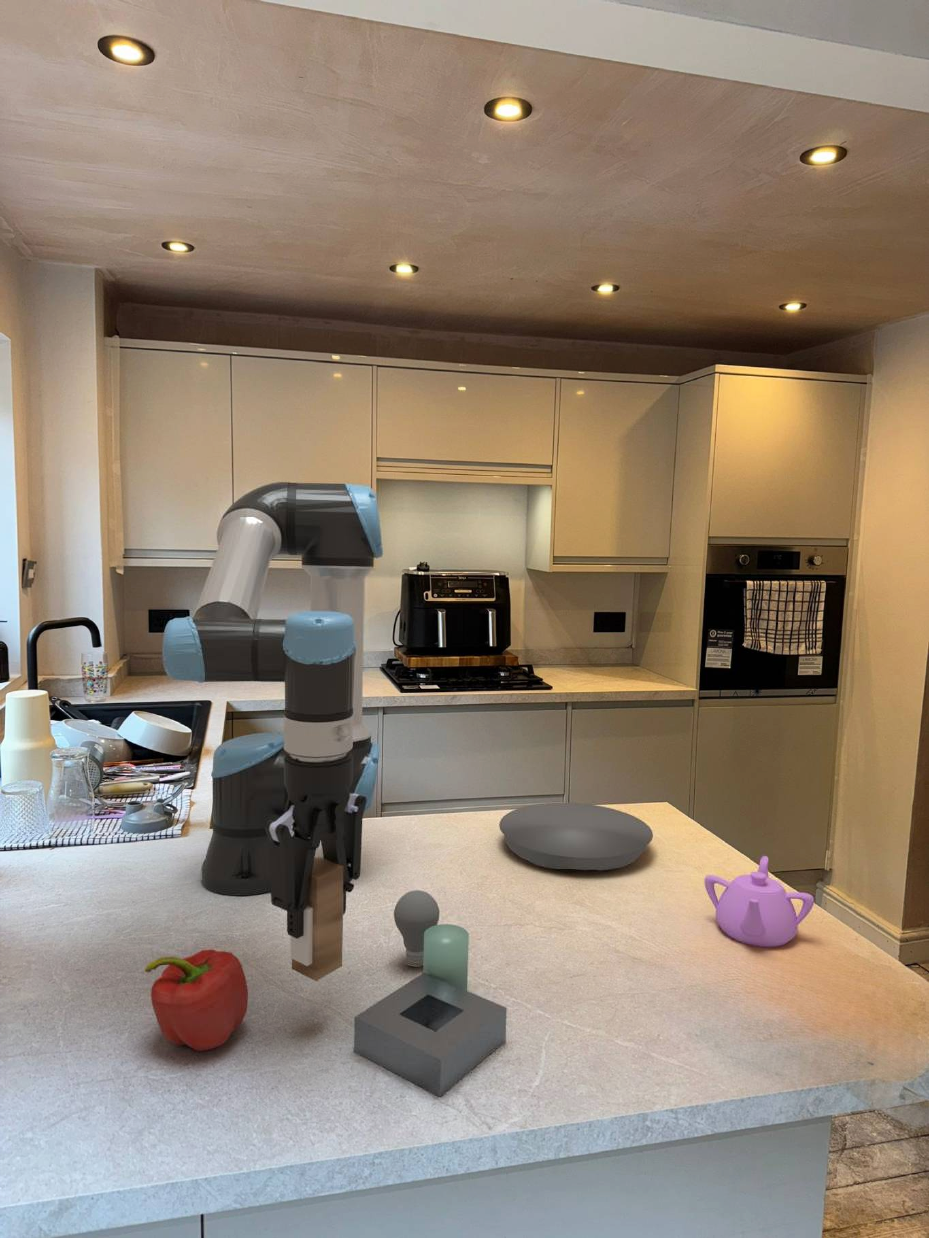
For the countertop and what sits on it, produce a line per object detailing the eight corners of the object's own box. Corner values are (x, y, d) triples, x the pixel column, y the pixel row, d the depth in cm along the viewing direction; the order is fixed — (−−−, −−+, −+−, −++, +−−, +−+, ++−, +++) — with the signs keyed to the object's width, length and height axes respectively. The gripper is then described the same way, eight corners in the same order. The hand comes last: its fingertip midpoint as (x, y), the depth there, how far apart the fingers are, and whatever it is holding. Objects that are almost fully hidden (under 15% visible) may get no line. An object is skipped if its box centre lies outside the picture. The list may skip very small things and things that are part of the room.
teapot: (762, 908, 130) (765, 853, 129) (822, 951, 116) (827, 890, 115) (695, 915, 126) (698, 859, 125) (749, 960, 113) (753, 898, 112)
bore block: (354, 1051, 91) (354, 1016, 90) (423, 1003, 100) (423, 972, 100) (440, 1097, 84) (441, 1059, 83) (505, 1041, 93) (506, 1007, 93)
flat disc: (505, 819, 168) (506, 798, 168) (645, 829, 164) (646, 807, 164) (490, 876, 141) (491, 851, 140) (658, 889, 137) (659, 863, 136)
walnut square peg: (291, 968, 94) (292, 867, 92) (317, 954, 97) (318, 856, 95) (316, 981, 91) (317, 877, 90) (342, 966, 94) (343, 866, 93)
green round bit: (413, 998, 101) (414, 936, 101) (441, 979, 106) (442, 920, 105) (448, 1014, 98) (450, 950, 97) (475, 994, 103) (477, 933, 102)
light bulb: (444, 958, 111) (446, 887, 110) (428, 980, 106) (430, 905, 105) (403, 950, 113) (405, 879, 112) (385, 971, 108) (386, 897, 107)
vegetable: (147, 1077, 85) (147, 985, 84) (143, 1023, 95) (142, 939, 94) (255, 1053, 90) (255, 966, 89) (240, 1004, 99) (240, 924, 98)
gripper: (282, 777, 82) (281, 997, 85) (395, 743, 96) (391, 933, 98) (233, 762, 86) (234, 972, 89) (348, 731, 100) (346, 914, 103)
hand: (317, 951), depth 94 cm, fingers closed on walnut square peg, 4 cm apart
